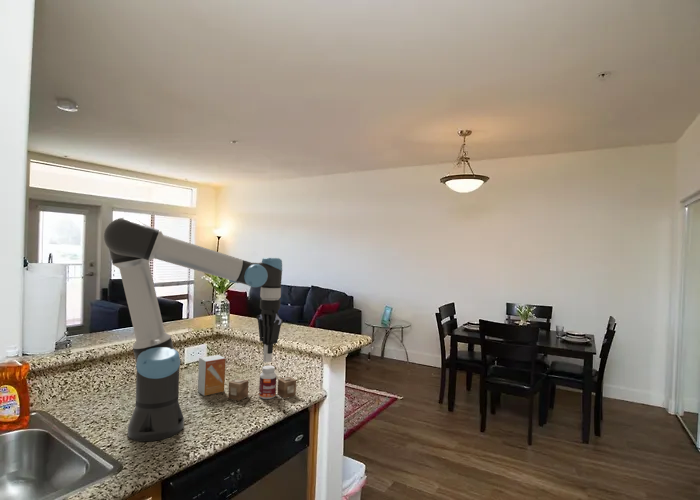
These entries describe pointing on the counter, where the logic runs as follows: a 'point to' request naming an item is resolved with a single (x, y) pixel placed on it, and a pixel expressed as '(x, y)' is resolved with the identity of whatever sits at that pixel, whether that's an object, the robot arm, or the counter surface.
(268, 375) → the pill bottle
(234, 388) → the marked block left
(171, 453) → the counter surface
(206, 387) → the small box
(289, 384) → the marked block right
